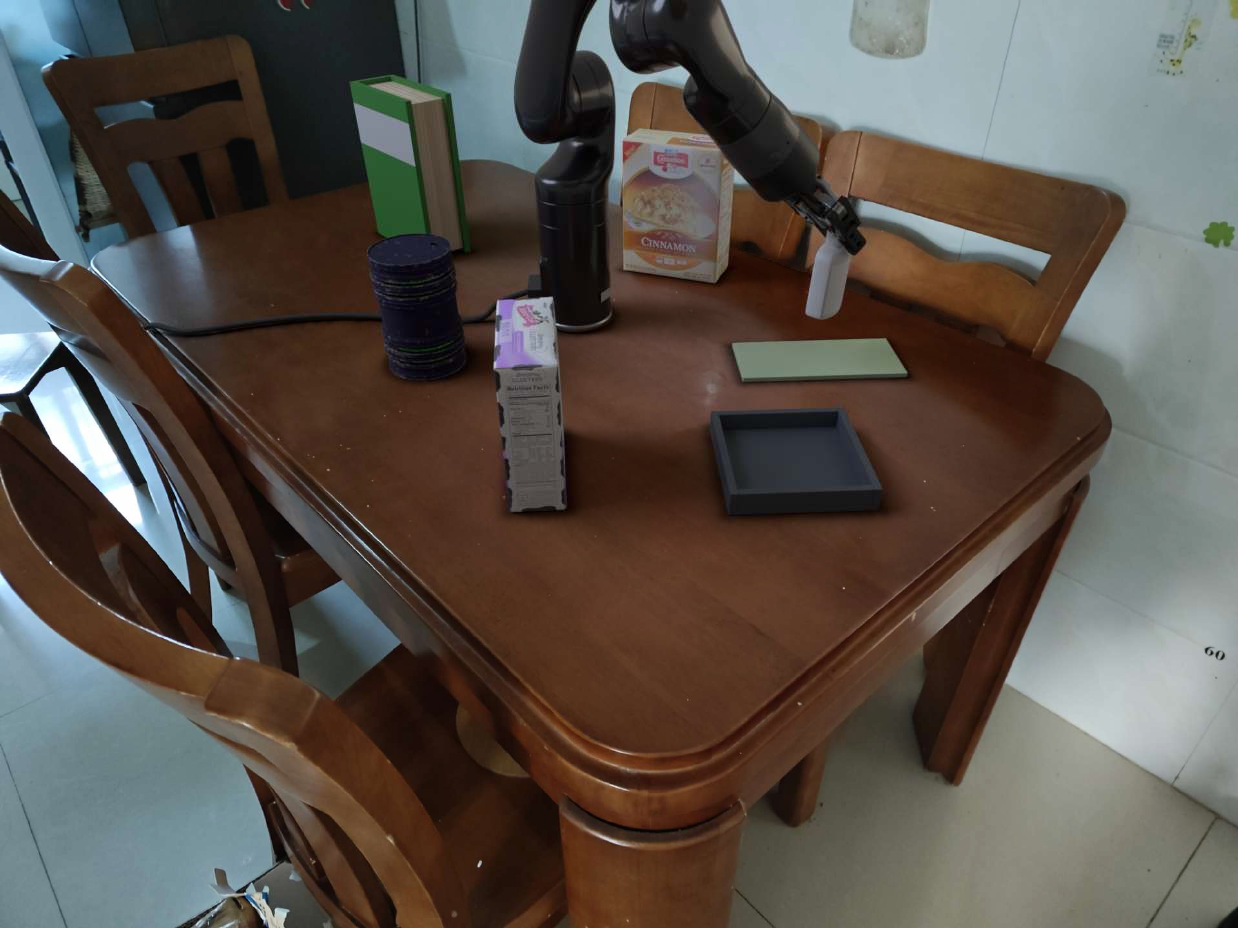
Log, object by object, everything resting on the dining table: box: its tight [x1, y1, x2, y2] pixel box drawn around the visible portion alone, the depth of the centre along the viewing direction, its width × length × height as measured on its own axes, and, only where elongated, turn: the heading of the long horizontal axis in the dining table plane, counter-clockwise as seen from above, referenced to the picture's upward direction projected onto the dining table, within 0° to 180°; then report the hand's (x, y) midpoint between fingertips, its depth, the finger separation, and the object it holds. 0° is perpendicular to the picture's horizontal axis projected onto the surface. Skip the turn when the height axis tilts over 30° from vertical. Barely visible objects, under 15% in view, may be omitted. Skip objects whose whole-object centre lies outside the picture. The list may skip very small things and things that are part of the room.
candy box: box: [493, 297, 568, 513], centre depth 81 cm, size 14×6×16 cm, turn 5°
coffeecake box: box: [622, 127, 735, 284], centre depth 122 cm, size 15×7×20 cm, turn 68°
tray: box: [709, 406, 884, 516], centre depth 85 cm, size 15×15×3 cm
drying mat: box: [731, 337, 908, 383], centre depth 103 cm, size 20×9×1 cm, turn 92°
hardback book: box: [349, 74, 472, 254], centre depth 131 cm, size 18×7×24 cm, turn 40°
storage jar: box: [366, 233, 467, 382], centre depth 100 cm, size 10×10×15 cm
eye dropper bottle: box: [805, 230, 852, 321], centre depth 95 cm, size 4×6×12 cm
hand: (847, 242), depth 95 cm, fingers closed on eye dropper bottle, 3 cm apart
